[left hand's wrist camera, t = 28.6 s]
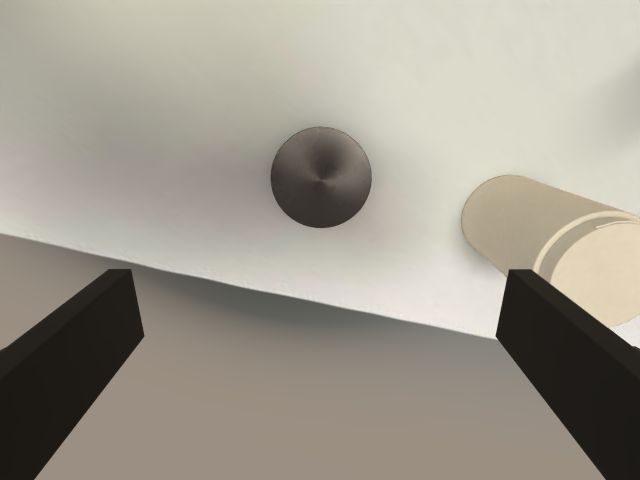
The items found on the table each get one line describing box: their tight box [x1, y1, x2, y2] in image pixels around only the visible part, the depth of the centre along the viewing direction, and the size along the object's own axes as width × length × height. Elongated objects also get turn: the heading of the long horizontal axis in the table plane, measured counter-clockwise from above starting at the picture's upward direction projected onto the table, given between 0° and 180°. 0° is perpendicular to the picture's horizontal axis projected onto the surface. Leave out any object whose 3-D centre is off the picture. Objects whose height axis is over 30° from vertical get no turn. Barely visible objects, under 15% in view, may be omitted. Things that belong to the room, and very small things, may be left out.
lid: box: [271, 127, 371, 228], centre depth 36 cm, size 10×10×2 cm
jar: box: [462, 175, 640, 328], centre depth 31 cm, size 9×9×15 cm
